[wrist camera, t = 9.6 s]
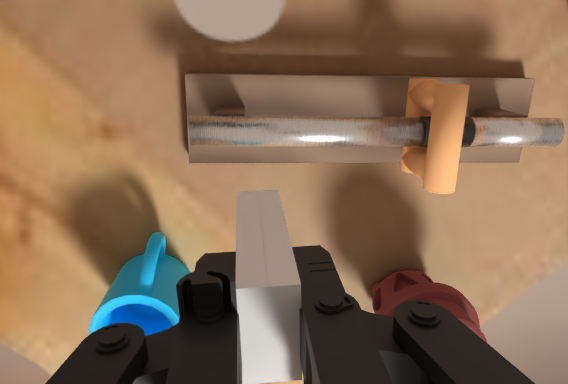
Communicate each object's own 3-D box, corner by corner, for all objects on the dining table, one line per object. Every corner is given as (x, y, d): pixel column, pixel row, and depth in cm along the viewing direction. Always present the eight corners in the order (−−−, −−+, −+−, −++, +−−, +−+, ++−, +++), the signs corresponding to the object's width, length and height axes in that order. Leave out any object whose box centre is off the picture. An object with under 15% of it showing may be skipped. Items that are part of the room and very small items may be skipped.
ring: (405, 78, 39) (443, 85, 31) (431, 78, 39) (476, 86, 31) (396, 166, 41) (429, 193, 34) (421, 166, 41) (460, 193, 34)
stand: (187, 72, 40) (177, 77, 35) (525, 77, 43) (566, 82, 37) (191, 159, 43) (182, 175, 37) (510, 158, 45) (546, 174, 40)
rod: (193, 143, 36) (189, 150, 34) (191, 112, 36) (187, 117, 33) (542, 144, 39) (560, 150, 36) (547, 115, 38) (567, 119, 36)
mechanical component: (428, 334, 51) (345, 323, 50) (455, 257, 48) (368, 243, 47) (481, 420, 40) (374, 409, 38) (521, 325, 37) (407, 309, 35)
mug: (189, 325, 48) (178, 378, 41) (112, 315, 47) (85, 368, 40) (205, 224, 45) (196, 261, 37) (122, 211, 44) (95, 247, 36)
